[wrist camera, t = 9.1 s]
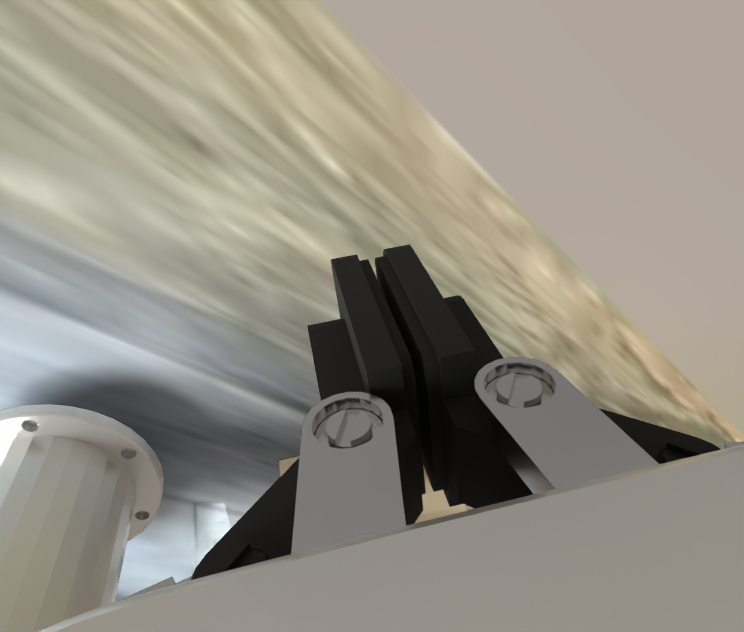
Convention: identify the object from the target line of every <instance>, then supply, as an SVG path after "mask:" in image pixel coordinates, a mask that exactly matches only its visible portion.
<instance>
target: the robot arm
mask: <svg viewBox="0 0 744 632" xmlns="http://www.w3.org/2000/svg"><path fill="white" fill-rule="evenodd" d="M331 264H332V271H333V277H334V282H335V288H336V294H337V300H338V306H339V312H340V318H341V319H338V320H333V321H328V322H323V323H318V324H313V325H308V331H309V337H310V342H311V348H312V353H313V359H314V364H315V370H316V375H317V381H318V386H319V392H320V397H321V401H320V402H319V403H318V404H316V405H315V406H314V407H313V408H312V409H311V410H310V411H309V413H308V414H307V415H306V417H305V419H304V422H303V426H302V434H301V445H300V457H299V458H298V459H297V460H296V461H295V462H294V463H293V464H292V465H291V466H290V467H289V468H288V470H287V471H286V472H285V473H284V474H283V475H282V476H281V477H280V478H279V479H278V480H277V481H276V482H275V483H274V484H273V485H272V486H271V487H270V488H269V489H268V490H267V491H266V492H265V494H264V495H263V496H262V497H261V498H260V499H259V500H258V501H257V502H256V503H255V504H254V505H253V506H252V507H251V508H250V509H249V510H248V511H247V512H246V513H245V514H244V515H243V516H242V518H241V519H240V520H239V521H238V522H237V523H236V524H235V525H234V526H233V527H232V528H231V529H230V530H229V531H228V532H227V533H226V534H225V535H224V536H223V537H222V538H221V539H220V540H219V542H218V543H217V544H216V545H215V546H214V547H213V548H212V549H211V550H210V551H209V552H208V553H207V554H206V555H205V557H204V558H203V559H202V561H201V562H200V563H199V565H198V566H197V567H196V569H195V571H194V573H193V576H191V577H189V578H187V579H184V580H182V581H180V582H178V583H175V581H174V579H173V577H170V578H168V579H165V580H163V581H161V582H159V583H157V584H154V585H152V586H150V587H148V588H146V589H143V590H141V591H139V592H137V593H134V594H132V595H130V596H128V597H126V598H123V599H121V600H119V601H117V602H115V598H116V593H117V588H118V583H119V578H120V574H121V569H122V564H123V559H124V554H125V549H126V544H127V542H128V541H130V540H131V539H133V538H134V537H135V536H137V535H138V534H139V533H141V532H142V531H143V530H144V529H145V528H146V527H147V526H148V525H149V523H150V522H151V521H152V520H153V518H154V516H155V515H156V513H157V511H158V509H159V507H160V502H161V498H162V493H163V483H164V477H163V472H162V466H161V464H160V462H159V460H158V458H157V456H156V453H155V452H154V451H153V449H152V448H151V447H150V446H149V445H148V443H147V442H146V441H145V440H144V439H143V438H142V437H140V436H139V435H138V434H137V433H136V432H134V431H133V430H132V429H131V428H129V427H127V426H125V425H124V424H122V423H120V422H118V421H117V420H115V419H113V418H110V417H107V416H105V415H102V414H100V413H97V412H94V411H90V410H86V409H81V408H77V407H73V406H63V405H52V404H43V405H24V406H18V407H13V408H7V409H3V410H0V632H744V442H725V445H724V448H723V449H722V450H721V449H720V448H718V447H717V446H715V445H713V444H712V443H709V442H707V441H704V440H702V439H699V438H697V437H694V436H690V435H687V434H683V433H680V432H677V431H673V430H670V429H667V428H663V427H660V426H657V425H653V424H650V423H646V422H643V421H640V420H636V419H633V418H630V417H626V416H623V415H619V414H616V413H613V412H609V411H606V410H603V409H599V408H598V407H596V406H595V405H594V404H593V403H592V402H591V401H590V400H589V399H588V398H587V397H586V396H584V395H583V394H582V393H581V392H580V391H579V390H578V389H577V388H576V387H575V386H574V385H572V384H571V383H570V382H569V381H568V380H567V379H566V378H565V377H564V376H563V375H562V374H560V373H559V372H558V371H557V370H556V369H554V368H553V367H551V366H550V365H548V364H546V363H544V362H541V361H538V360H536V359H530V358H525V357H508V358H503V357H502V355H501V354H500V352H499V351H498V349H497V348H496V346H495V345H494V344H493V342H492V341H491V339H490V338H489V336H488V335H487V333H486V332H485V330H484V329H483V327H482V326H481V324H480V323H479V321H478V320H477V318H476V317H475V316H474V314H473V313H472V311H471V310H470V308H469V307H468V305H467V304H466V302H465V301H464V299H463V298H462V297H461V296H453V297H448V298H443V297H442V295H441V294H440V292H439V291H438V289H437V287H436V286H435V284H434V282H433V281H432V279H431V278H430V276H429V274H428V273H427V271H426V270H425V268H424V266H423V265H422V263H421V261H420V260H419V258H418V257H417V255H416V253H415V252H414V250H413V249H412V247H411V246H410V245H405V246H399V247H394V248H389V249H384V251H383V257H378V258H375V265H376V273H377V279H376V276H375V274H374V272H373V269H372V267H371V265H370V263H369V260H368V259H367V260H362V261H359V259H358V256H357V255H352V256H347V257H341V258H336V259H331ZM423 465H424V467H423ZM424 468H425V471H426V474H427V476H428V479H429V482H430V484H431V487H432V489H433V491H434V492H435V491H440V490H443V491H444V494H445V496H446V499H447V501H448V504H449V507H452V506H456V505H460V504H466V505H468V506H470V507H473V508H475V509H472V510H468V511H464V512H460V513H456V514H451V515H447V516H443V517H439V518H435V519H431V520H427V521H423V522H419V523H415V522H416V520H417V519H418V517H419V516H420V514H421V513H422V511H423V500H422V495H423V494H425V493H426V489H425V478H424ZM414 523H415V524H414Z"/></svg>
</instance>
